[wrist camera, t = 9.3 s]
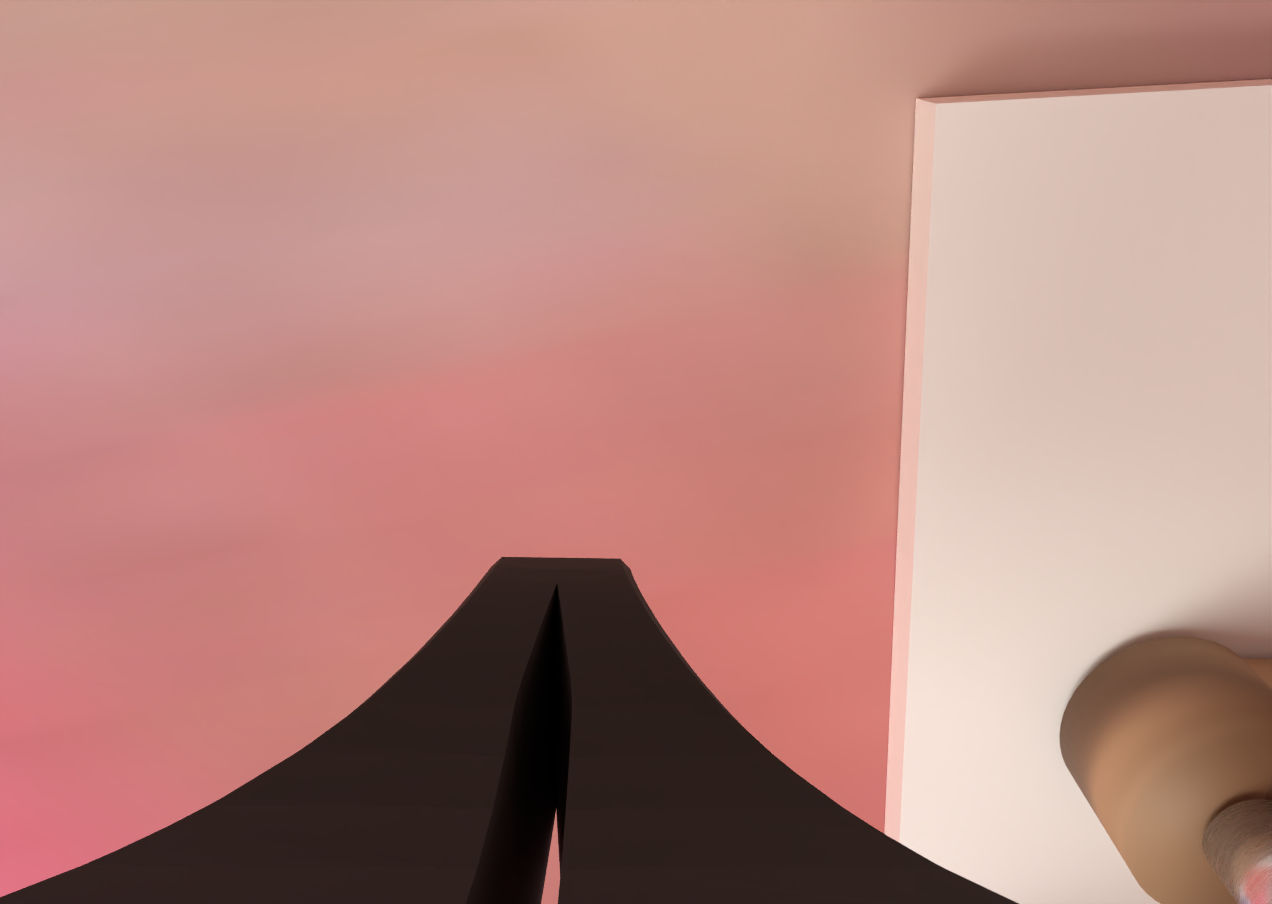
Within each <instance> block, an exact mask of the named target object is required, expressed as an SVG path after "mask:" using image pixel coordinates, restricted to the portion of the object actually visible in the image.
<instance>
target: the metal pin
mask: <svg viewBox="0 0 1272 904" xmlns="http://www.w3.org/2000/svg"><path fill="white" fill-rule="evenodd" d="M1202 851H1203V854H1204V856H1205V858H1206V860H1207V861H1208V863H1209V864H1210V865H1211V867H1212V868H1213V870H1214V871H1215V872H1216V874H1217V875H1218V877H1219V878H1220V879H1221V881H1222V882H1223V884H1224V885H1225V886H1226V888H1227V889H1228V891H1229V892H1230V893H1231V895H1232V896H1233V898H1234V899H1235V900H1236V902H1237V903H1238V904H1272V800H1268V799H1252V800H1246V801H1242V802H1239V803H1236V804H1234V805H1232V806H1230V807H1228V808H1226V809H1225V810H1223V811H1222V812H1220V813H1219V814H1218V815H1217V816H1216V817H1215V818H1214V819H1213V820H1212V821H1211V822H1210V823H1209V825H1208V826H1207V828H1206V830H1205V832H1204V834H1203V838H1202Z"/></svg>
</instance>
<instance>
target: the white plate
mask: <svg viewBox="0 0 1272 904" xmlns="http://www.w3.org/2000/svg"><path fill="white" fill-rule="evenodd" d="M1166 637H1195V638H1200V639H1206V640H1209V641H1212V642H1215V643H1218V644H1220V645H1222V646H1225V647H1227V648H1229V649H1230V650H1232V651H1233V652H1235V653H1236V654H1237V655H1239V656H1240V657H1241V658H1242V659H1272V79H1259V80H1241V81H1223V82H1205V83H1187V84H1169V85H1151V86H1133V87H1114V88H1096V89H1078V90H1060V91H1042V92H1024V93H1006V94H988V95H970V96H952V97H934V98H916V111H915V134H914V157H913V181H912V204H911V227H910V251H909V274H908V297H907V321H906V344H905V367H904V391H903V414H902V437H901V461H900V484H899V507H898V531H897V554H896V577H895V600H894V624H893V647H892V670H891V694H890V717H889V740H888V764H887V787H886V810H885V835H887V836H889V837H890V838H892V839H894V840H896V841H897V842H899V843H901V844H902V845H904V846H906V847H908V848H909V849H911V850H913V851H915V852H916V853H918V854H920V855H921V856H923V857H925V858H927V859H928V860H930V861H932V862H934V863H936V864H937V865H939V866H941V867H943V868H945V869H947V870H949V871H951V872H953V873H955V874H958V875H960V876H962V877H964V878H966V879H968V880H970V881H972V882H974V883H977V884H979V885H981V886H983V887H985V888H987V889H989V890H991V891H993V892H996V893H998V894H1000V895H1002V896H1004V897H1006V898H1008V899H1010V900H1012V901H1015V902H1017V903H1019V904H1160V903H1159V902H1157V901H1155V900H1154V899H1153V898H1152V897H1150V896H1149V895H1148V894H1147V893H1146V892H1145V891H1144V890H1143V889H1142V888H1141V887H1140V885H1139V884H1138V883H1137V881H1136V879H1135V878H1134V876H1133V874H1132V873H1131V871H1130V869H1129V868H1128V866H1127V865H1126V863H1125V861H1124V860H1123V858H1122V856H1121V855H1120V853H1119V852H1118V850H1117V848H1116V847H1115V845H1114V843H1113V842H1112V840H1111V839H1110V837H1109V835H1108V834H1107V832H1106V830H1105V829H1104V827H1103V825H1102V824H1101V822H1100V821H1099V819H1098V817H1097V816H1096V814H1095V812H1094V811H1093V809H1092V808H1091V806H1090V804H1089V803H1088V801H1087V799H1086V798H1085V796H1084V795H1083V793H1082V791H1081V790H1080V788H1079V786H1078V785H1077V783H1076V782H1075V780H1074V778H1073V777H1072V775H1071V773H1070V772H1069V770H1068V768H1067V767H1066V765H1065V762H1064V760H1063V757H1062V754H1061V749H1060V738H1059V734H1060V725H1061V721H1062V717H1063V713H1064V711H1065V709H1066V706H1067V704H1068V702H1069V700H1070V698H1071V697H1072V695H1073V693H1074V692H1075V690H1076V689H1077V688H1078V686H1079V685H1080V684H1081V682H1082V681H1083V680H1084V679H1085V678H1086V677H1087V676H1088V675H1089V674H1090V673H1091V672H1092V671H1093V670H1094V669H1096V668H1097V667H1098V666H1099V665H1100V664H1102V663H1103V662H1104V661H1106V660H1107V659H1109V658H1110V657H1112V656H1114V655H1115V654H1117V653H1119V652H1121V651H1123V650H1125V649H1127V648H1129V647H1132V646H1135V645H1137V644H1140V643H1143V642H1147V641H1150V640H1154V639H1160V638H1166Z"/></svg>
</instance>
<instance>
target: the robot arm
mask: <svg viewBox="0 0 1272 904" xmlns="http://www.w3.org/2000/svg"><path fill="white" fill-rule="evenodd" d="M556 810H557V828H558V844H559V861H560V887H559V898H558V904H1019V903H1017V902H1015V901H1012V900H1010V899H1008V898H1006V897H1004V896H1002V895H1000V894H998V893H996V892H993V891H991V890H989V889H987V888H985V887H983V886H981V885H979V884H977V883H974V882H972V881H970V880H968V879H966V878H964V877H962V876H960V875H958V874H955V873H953V872H951V871H949V870H947V869H945V868H943V867H941V866H939V865H937V864H936V863H934V862H932V861H930V860H928V859H927V858H925V857H923V856H921V855H920V854H918V853H916V852H915V851H913V850H911V849H909V848H908V847H906V846H904V845H902V844H901V843H899V842H897V841H896V840H894V839H892V838H890V837H889V836H887V835H885V834H884V833H882V832H880V831H878V830H877V829H875V828H874V827H872V826H871V825H869V824H867V823H866V822H864V821H863V820H861V819H860V818H858V817H857V816H855V815H854V814H852V813H850V812H849V811H847V810H846V809H844V808H843V807H841V806H840V805H839V804H837V803H836V802H834V801H833V800H832V799H830V798H829V797H828V796H826V795H825V794H824V793H822V792H821V791H820V790H818V789H817V788H815V787H814V786H813V785H811V784H810V783H809V782H807V781H806V780H805V779H803V778H802V777H800V776H799V775H798V774H796V773H795V772H794V771H793V770H791V769H790V768H789V767H788V766H786V765H785V764H784V763H783V762H782V761H780V760H779V759H778V758H777V757H775V756H774V755H773V754H772V753H771V752H770V751H769V750H767V749H766V748H765V747H764V746H763V745H762V744H761V743H760V742H759V741H758V740H757V739H755V738H754V737H753V736H752V735H751V734H750V733H749V732H748V731H747V730H746V729H745V728H744V727H743V726H742V725H741V724H740V723H739V722H738V721H737V720H736V719H735V718H734V717H733V716H732V715H731V714H730V713H729V712H728V710H727V709H726V708H725V707H724V706H723V705H722V704H721V703H720V702H719V700H718V699H717V698H716V697H715V696H714V695H713V693H712V692H711V691H710V690H709V689H708V688H707V687H706V685H705V684H704V683H703V682H702V681H701V680H700V678H699V677H698V676H697V674H696V673H695V672H694V671H693V669H692V668H691V667H690V666H689V664H688V663H687V662H686V660H685V659H684V658H683V656H682V655H681V653H680V652H679V651H678V649H677V648H676V647H675V645H674V644H673V642H672V641H671V640H670V638H669V637H668V635H667V634H666V633H665V631H664V630H663V628H662V627H661V625H660V624H659V622H658V621H657V619H656V618H655V616H654V614H653V613H652V611H651V609H650V608H649V606H648V604H647V603H646V601H645V599H644V597H643V596H642V594H641V592H640V590H639V588H638V586H637V584H636V582H635V580H634V578H633V575H632V573H631V570H630V568H629V567H628V566H627V565H626V564H625V563H624V562H623V561H622V560H621V559H601V558H531V557H502V558H501V559H499V560H498V561H497V562H496V563H495V564H494V565H493V566H492V567H491V568H490V569H489V570H488V572H487V573H486V574H485V576H484V577H483V578H482V580H481V581H480V582H479V583H478V585H477V586H476V587H475V588H474V590H473V591H472V592H471V593H470V595H469V596H468V597H467V598H466V599H465V601H464V602H463V603H462V604H461V605H460V606H459V608H458V609H457V610H456V611H455V612H454V613H453V615H452V616H451V617H450V618H449V619H448V620H447V621H446V622H445V623H444V624H443V626H442V627H441V628H440V629H439V630H438V631H437V632H436V633H435V634H434V635H433V636H432V637H431V639H430V640H429V641H428V642H427V643H426V644H425V645H424V646H423V647H422V648H421V649H420V650H419V651H418V652H417V653H416V654H415V655H414V656H413V657H412V658H411V659H410V660H409V661H408V662H407V663H406V664H405V665H404V666H403V667H402V668H401V669H400V670H399V671H398V672H396V673H395V674H394V675H393V676H392V677H391V678H390V679H389V680H388V681H387V682H386V683H385V684H384V685H383V686H381V687H380V688H379V689H378V690H377V691H376V692H375V693H374V694H373V695H372V696H371V697H370V698H368V699H367V700H366V701H365V702H364V703H363V704H361V705H360V706H359V707H358V708H357V709H355V710H354V711H353V712H352V713H351V714H349V715H348V716H347V717H346V718H344V719H343V720H341V721H340V722H339V723H337V724H336V725H335V726H333V727H332V728H331V729H329V730H328V731H326V732H325V733H324V734H322V735H321V736H320V737H318V738H317V739H316V740H314V741H313V742H311V743H310V744H309V745H307V746H306V747H304V748H303V749H301V750H300V751H298V752H297V753H295V754H294V755H292V756H290V757H289V758H287V759H285V760H284V761H282V762H280V763H279V764H277V765H276V766H274V767H272V768H271V769H269V770H267V771H266V772H264V773H262V774H261V775H259V776H257V777H256V778H254V779H252V780H251V781H249V782H248V783H246V784H244V785H243V786H241V787H239V788H238V789H236V790H234V791H233V792H231V793H229V794H228V795H226V796H225V797H223V798H221V799H219V800H217V801H216V802H214V803H212V804H210V805H208V806H206V807H204V808H203V809H201V810H199V811H197V812H195V813H193V814H191V815H189V816H187V817H185V818H183V819H181V820H179V821H177V822H175V823H174V824H172V825H170V826H168V827H166V828H164V829H161V830H159V831H157V832H155V833H153V834H151V835H149V836H147V837H144V838H142V839H140V840H138V841H136V842H134V843H132V844H130V845H128V846H125V847H123V848H121V849H119V850H117V851H115V852H112V853H110V854H108V855H105V856H103V857H101V858H99V859H96V860H94V861H92V862H89V863H87V864H85V865H82V866H80V867H77V868H75V869H72V870H70V871H67V872H64V873H62V874H59V875H57V876H54V877H52V878H49V879H46V880H44V881H41V882H39V883H36V884H34V885H31V886H28V887H26V888H23V889H21V890H18V891H16V892H13V893H10V894H8V895H5V896H3V897H0V904H541V899H542V893H543V887H544V881H545V875H546V869H547V863H548V856H549V850H550V844H551V838H552V832H553V825H554V819H555V813H556Z"/></svg>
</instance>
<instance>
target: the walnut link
mask: <svg viewBox="0 0 1272 904" xmlns="http://www.w3.org/2000/svg"><path fill="white" fill-rule="evenodd" d="M1059 738H1060V749H1061V754H1062V757H1063V760H1064V762H1065V765H1066V767H1067V768H1068V770H1069V772H1070V773H1071V775H1072V777H1073V778H1074V780H1075V782H1076V783H1077V785H1078V786H1079V788H1080V790H1081V791H1082V793H1083V795H1084V796H1085V798H1086V799H1087V801H1088V803H1089V804H1090V806H1091V808H1092V809H1093V811H1094V812H1095V814H1096V816H1097V817H1098V819H1099V821H1100V822H1101V824H1102V825H1103V827H1104V829H1105V830H1106V832H1107V834H1108V835H1109V837H1110V839H1111V840H1112V842H1113V843H1114V845H1115V847H1116V848H1117V850H1118V852H1119V853H1120V855H1121V856H1122V858H1123V860H1124V861H1125V863H1126V865H1127V866H1128V868H1129V869H1130V871H1131V873H1132V874H1133V876H1134V878H1135V879H1136V881H1137V883H1138V884H1139V885H1140V887H1141V888H1142V889H1143V890H1144V891H1145V892H1146V893H1147V894H1148V895H1149V896H1150V897H1152V898H1153V899H1154V900H1155V901H1157V902H1159V903H1160V904H1238V903H1237V902H1236V900H1235V899H1234V898H1233V896H1232V895H1231V893H1230V892H1229V891H1228V889H1227V888H1226V886H1225V885H1224V884H1223V882H1222V881H1221V879H1220V878H1219V877H1218V875H1217V874H1216V872H1215V871H1214V870H1213V868H1212V867H1211V865H1210V864H1209V863H1208V861H1207V860H1206V858H1205V856H1204V854H1203V851H1202V838H1203V834H1204V832H1205V830H1206V828H1207V826H1208V825H1209V823H1210V822H1211V821H1212V820H1213V819H1214V818H1215V817H1216V816H1217V815H1218V814H1219V813H1220V812H1222V811H1223V810H1225V809H1226V808H1228V807H1230V806H1232V805H1234V804H1236V803H1239V802H1242V801H1246V800H1252V799H1268V800H1272V659H1242V658H1241V657H1240V656H1239V655H1237V654H1236V653H1235V652H1233V651H1232V650H1230V649H1229V648H1227V647H1225V646H1222V645H1220V644H1218V643H1215V642H1212V641H1209V640H1206V639H1200V638H1195V637H1166V638H1160V639H1154V640H1150V641H1147V642H1143V643H1140V644H1137V645H1135V646H1132V647H1129V648H1127V649H1125V650H1123V651H1121V652H1119V653H1117V654H1115V655H1114V656H1112V657H1110V658H1109V659H1107V660H1106V661H1104V662H1103V663H1102V664H1100V665H1099V666H1098V667H1097V668H1096V669H1094V670H1093V671H1092V672H1091V673H1090V674H1089V675H1088V676H1087V677H1086V678H1085V679H1084V680H1083V681H1082V682H1081V684H1080V685H1079V686H1078V688H1077V689H1076V690H1075V692H1074V693H1073V695H1072V697H1071V698H1070V700H1069V702H1068V704H1067V706H1066V709H1065V711H1064V713H1063V717H1062V721H1061V725H1060V734H1059Z"/></svg>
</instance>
